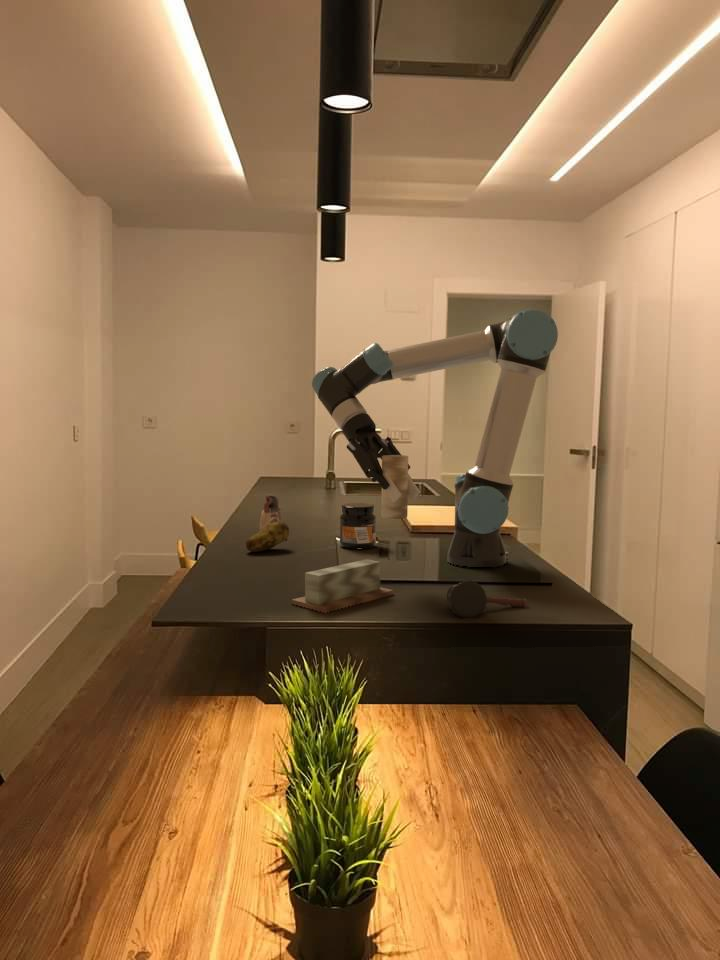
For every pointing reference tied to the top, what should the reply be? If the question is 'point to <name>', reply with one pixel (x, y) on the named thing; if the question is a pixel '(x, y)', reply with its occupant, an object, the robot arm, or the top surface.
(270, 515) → the figurine
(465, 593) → the coffee pot
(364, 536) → the supplement container
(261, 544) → the potato
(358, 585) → the stand
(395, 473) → the rod
